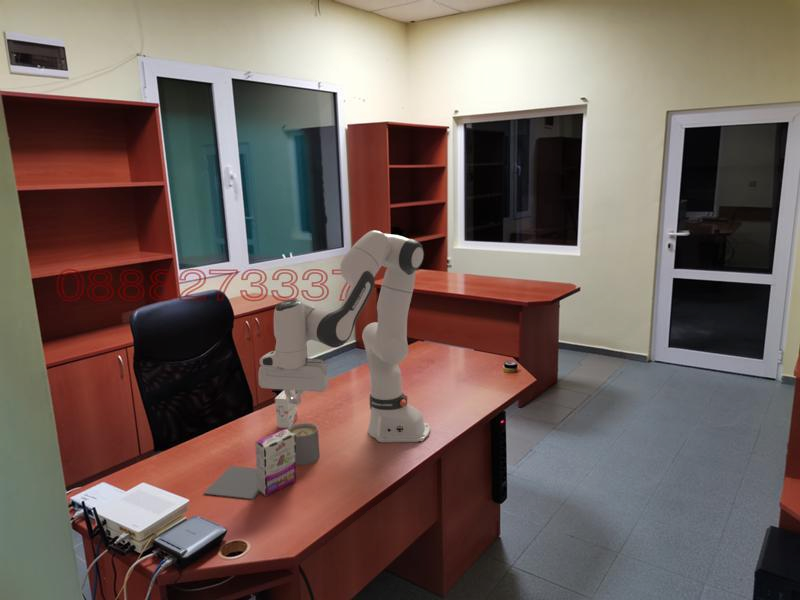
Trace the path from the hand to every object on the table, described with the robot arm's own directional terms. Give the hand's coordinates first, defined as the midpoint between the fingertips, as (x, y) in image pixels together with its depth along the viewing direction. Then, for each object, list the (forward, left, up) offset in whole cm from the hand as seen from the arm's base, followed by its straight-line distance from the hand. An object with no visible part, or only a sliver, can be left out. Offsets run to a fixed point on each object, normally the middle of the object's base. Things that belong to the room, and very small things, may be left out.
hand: (295, 403), depth 162 cm
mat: (+19, 0, -27) cm, 33 cm away
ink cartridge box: (+23, -42, -27) cm, 55 cm away
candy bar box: (+8, 0, -27) cm, 28 cm away
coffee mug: (+6, -20, -27) cm, 35 cm away
